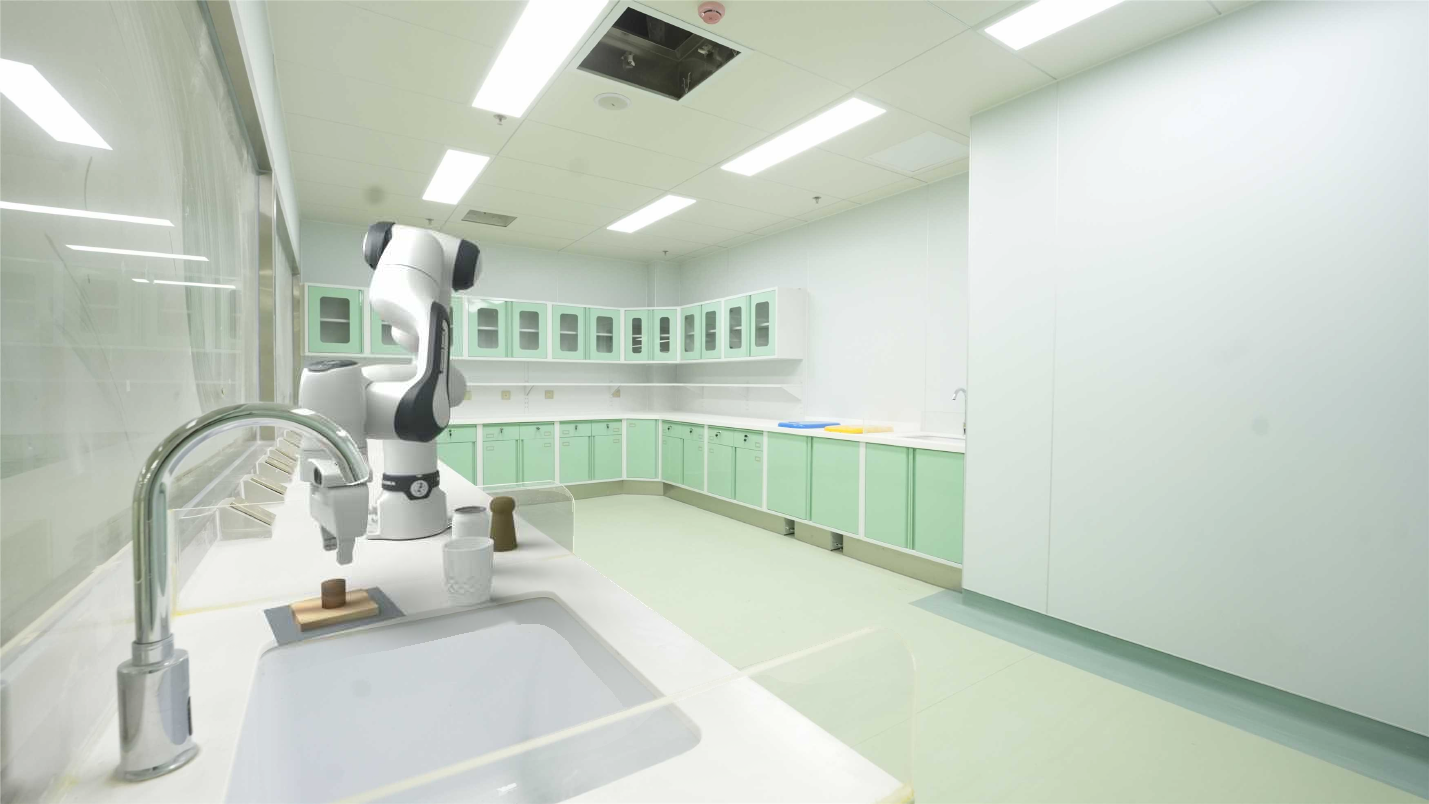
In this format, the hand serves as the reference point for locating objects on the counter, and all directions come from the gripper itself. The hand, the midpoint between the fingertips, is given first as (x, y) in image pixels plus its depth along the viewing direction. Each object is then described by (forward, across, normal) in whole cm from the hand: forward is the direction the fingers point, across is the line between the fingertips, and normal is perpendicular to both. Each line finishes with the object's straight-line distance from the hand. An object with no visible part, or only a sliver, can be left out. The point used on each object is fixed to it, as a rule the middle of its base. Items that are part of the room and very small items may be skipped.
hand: (337, 556), depth 94 cm
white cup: (+10, +6, +18) cm, 21 cm away
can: (+10, -8, +24) cm, 27 cm away
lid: (+9, -1, 0) cm, 9 cm away
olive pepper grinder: (+10, -19, +35) cm, 41 cm away
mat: (+10, -1, 0) cm, 10 cm away
